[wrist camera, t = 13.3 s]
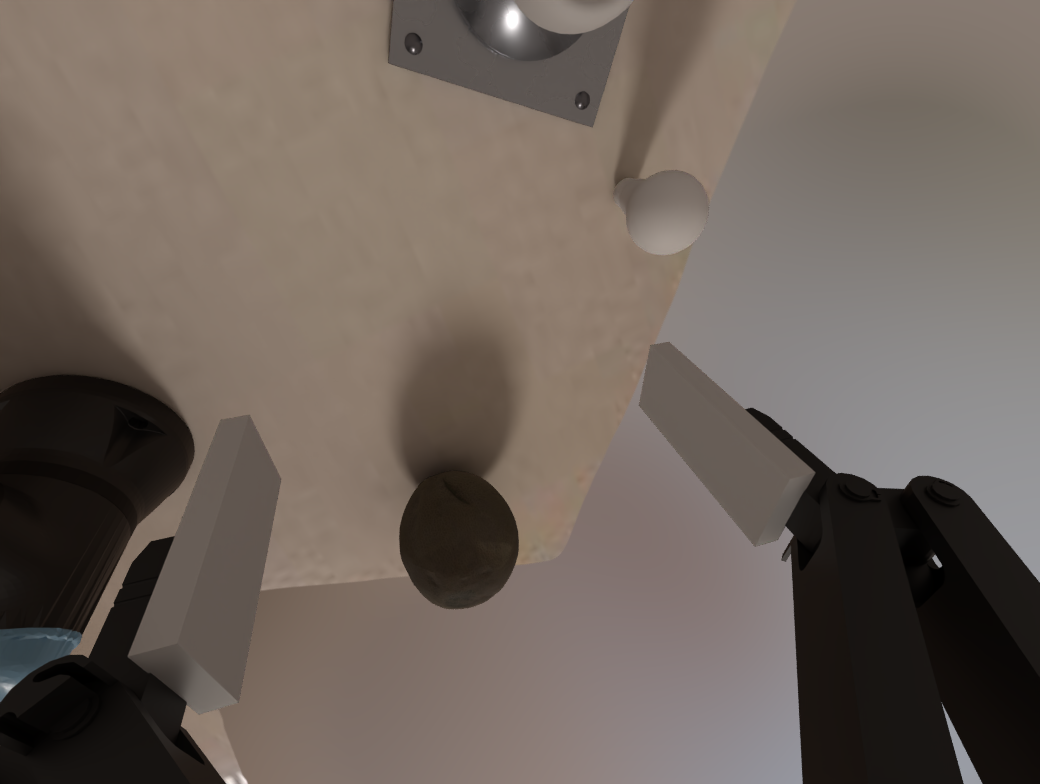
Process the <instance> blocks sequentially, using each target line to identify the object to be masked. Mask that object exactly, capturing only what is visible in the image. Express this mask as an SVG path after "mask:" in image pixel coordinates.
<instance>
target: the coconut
mask: <svg viewBox="0 0 1040 784" xmlns="http://www.w3.org/2000/svg"><path fill="white" fill-rule="evenodd" d="M399 541H400V554H401V559H402V562H403V564H404V566H405V568H406V570H407V572H408V574H409V576H410V578H411V580H412V582H413V583H414V585H415V586H416V588H417V589H418V590H419V591H420V593H421V594H422V595H423V596H424V597H425V598H427V599H428V600H429V601H430V602H432V603H433V604H435V605H437V606H440V607H442V608H446V609H464V608H470V607H473V606H476V605H479V604H482V603H484V602H485V601H487V600H489V599H490V598H491V597H492V596H494V595H495V594H496V593H497V592H499V591H500V590H501V589H502V588H503V586H504V585H505V583H506V582H507V580H508V579H509V577H510V575H511V573H512V571H513V568H514V566H515V563H516V560H517V556H518V550H519V539H518V530H517V525H516V521H515V518H514V516H513V514H512V512H511V510H510V508H509V506H508V504H507V503H506V501H505V500H504V498H503V497H502V496H501V495H500V494H499V492H498V491H497V490H496V489H495V488H494V487H493V486H492V485H491V484H490V483H488V482H487V481H486V480H484V479H483V478H481V477H479V476H476V475H474V474H471V473H467V472H462V471H447V472H443V473H440V474H437V475H434V476H432V477H429V478H427V479H426V480H424V481H423V482H422V483H421V484H420V485H419V486H418V487H417V489H416V490H415V491H414V493H413V494H412V496H411V498H410V500H409V501H408V504H407V506H406V508H405V510H404V513H403V516H402V520H401V524H400V535H399Z"/></svg>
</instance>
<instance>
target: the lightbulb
mask: <svg viewBox="0 0 1040 784" xmlns="http://www.w3.org/2000/svg"><path fill="white" fill-rule="evenodd" d="M613 198H614V201H615V203H616V204H617V205H618V206H619V207H620V208H621V210H622V212H623V213H624V214H625V215H626V225H627V229H628V232H629V234H630V236H631V238H632V240H633V241H634V242H635V244H636V245H637V246H639V247H640V248H641V249H643V250H644V251H646V252H649V253H651V254H656V255H670V254H674V253H677V252H679V251H681V250H683V249H685V248H687V247H688V246H690V245H691V244H692V243H693V242H694V241H695V240H696V239H697V238H698V237H699V235H700V234H701V232H702V231H703V229H704V227H705V224H706V222H707V218H708V213H709V201H708V196H707V193H706V191H705V189H704V188H703V186H702V184H701V183H700V182H699V181H698V180H697V179H696V178H695V177H694V176H692V175H690V174H688V173H686V172H683V171H679V170H667V171H662V172H658V173H656V174H654V175H652V176H650V177H648V178H647V179H634V178H624V179H622V180H621V181H620V182H619V183H618V184H617V185H616V187H615V189H614V193H613Z"/></svg>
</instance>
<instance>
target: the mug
mask: <svg viewBox="0 0 1040 784" xmlns="http://www.w3.org/2000/svg"><path fill="white" fill-rule="evenodd" d="M633 1H634V0H514V2H515V3H516V5H517V6H518V8H519V9H520V10H521V11H522V12H523V13H524V14H525V16H526V17H527V18H528V19H530V20H531V21H532V22H534V23H535V24H536V25H538V26H540V27H542V28H544V29H546V30H548V31H552V32H556V33H560V34H580V33H585V32H589V31H592V30H595V29H597V28H600V27H602V26H604V25H605V24H607V23H608V22H610V21H611V20H613V19H614V18H616V17H617V16H619V15H620V14H621V13H622V12H623V11H624V10H626V9H627V8H628V7H629V5H630V4H631V3H632V2H633Z"/></svg>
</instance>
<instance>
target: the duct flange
mask: <svg viewBox="0 0 1040 784" xmlns="http://www.w3.org/2000/svg"><path fill="white" fill-rule="evenodd" d="M628 9H629V7H628V8H627V9H626V10H624V11H623V12H622V13H621V14H620V15H619V16H617V17H616V18H614V19H613V20H611V21H610V22H608V23H607V24H605V25H604V26H602V27H600V28H597V29H595V30H592V31H589V32H585V33H580V34H560V33H556V32H552V31H548V30H546V29H544V28H542V27H540V26H538V25H536V24H535V23H534V22H532V21H531V20H530V19H528V18H527V17H526V16H525V14H524V13H523V12H522V11H521V10H520V9H519V8H518V6H517V5H516V3H515V2H514V0H393V12H392V24H391V37H390V49H389V62H388V63H389V64H393V65H396V66H399V67H402V68H405V69H408V70H412V71H415V72H418V73H421V74H424V75H428V76H431V77H434V78H437V79H440V80H443V81H447V82H450V83H453V84H456V85H459V86H462V87H466V88H469V89H472V90H475V91H478V92H482V93H485V94H488V95H491V96H494V97H497V98H501V99H504V100H507V101H510V102H513V103H517V104H520V105H523V106H526V107H529V108H532V109H536V110H539V111H542V112H545V113H548V114H551V115H555V116H558V117H561V118H564V119H567V120H571V121H574V122H577V123H580V124H583V125H586V126H590V127H593V125H594V121H595V118H596V115H597V111H598V108H599V105H600V101H601V98H602V95H603V91H604V88H605V85H606V82H607V78H608V75H609V72H610V68H611V65H612V62H613V58H614V55H615V52H616V48H617V45H618V42H619V39H620V35H621V32H622V29H623V25H624V22H625V19H626V15H627V12H628Z"/></svg>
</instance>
